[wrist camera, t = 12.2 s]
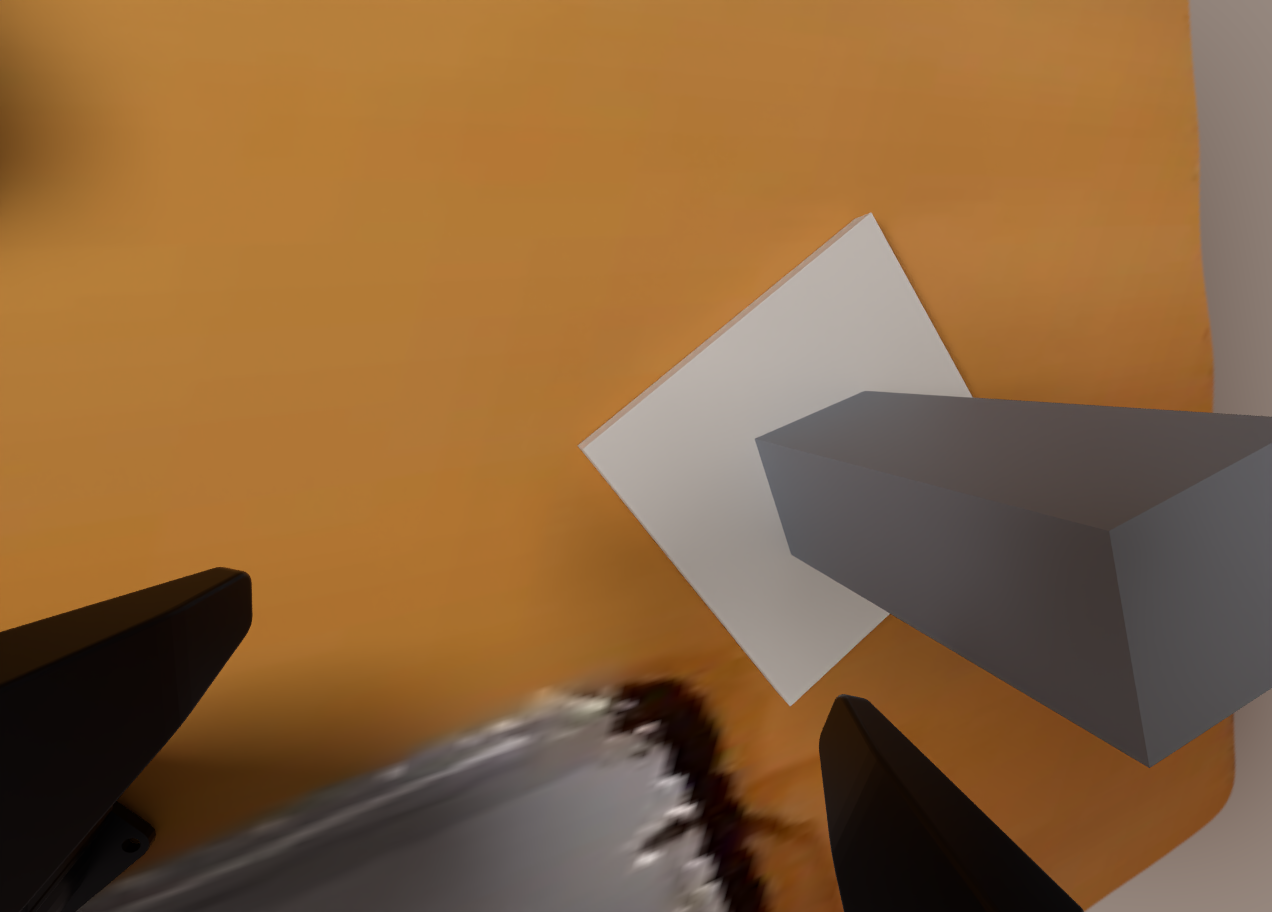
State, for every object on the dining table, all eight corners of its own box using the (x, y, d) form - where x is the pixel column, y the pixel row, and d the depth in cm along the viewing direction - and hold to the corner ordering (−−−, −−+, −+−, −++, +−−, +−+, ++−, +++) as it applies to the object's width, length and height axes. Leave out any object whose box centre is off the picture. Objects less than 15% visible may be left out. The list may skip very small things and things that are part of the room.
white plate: (778, 693, 25) (790, 706, 24) (577, 445, 22) (582, 449, 21) (1003, 485, 27) (1023, 489, 26) (854, 218, 23) (871, 212, 22)
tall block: (791, 554, 23) (1149, 767, 11) (754, 438, 22) (1108, 531, 10) (894, 504, 24) (1332, 648, 12) (864, 390, 23) (1314, 419, 11)
